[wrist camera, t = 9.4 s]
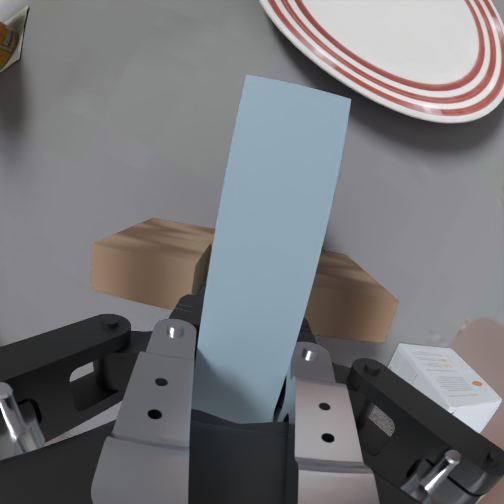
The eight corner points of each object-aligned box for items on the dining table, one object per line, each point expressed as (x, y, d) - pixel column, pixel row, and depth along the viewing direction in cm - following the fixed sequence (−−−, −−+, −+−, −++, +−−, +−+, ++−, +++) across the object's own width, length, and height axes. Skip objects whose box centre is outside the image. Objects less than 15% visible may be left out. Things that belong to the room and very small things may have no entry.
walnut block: (149, 247, 24) (90, 289, 14) (152, 218, 23) (92, 244, 14) (338, 283, 25) (383, 342, 15) (346, 255, 24) (399, 301, 14)
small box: (376, 385, 27) (413, 456, 17) (398, 340, 26) (449, 406, 16) (430, 387, 28) (471, 445, 17) (451, 347, 26) (504, 400, 16)
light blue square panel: (214, 344, 24) (181, 500, 10) (250, 145, 21) (246, 74, 6) (243, 350, 24) (236, 508, 10) (285, 152, 21) (351, 99, 6)
